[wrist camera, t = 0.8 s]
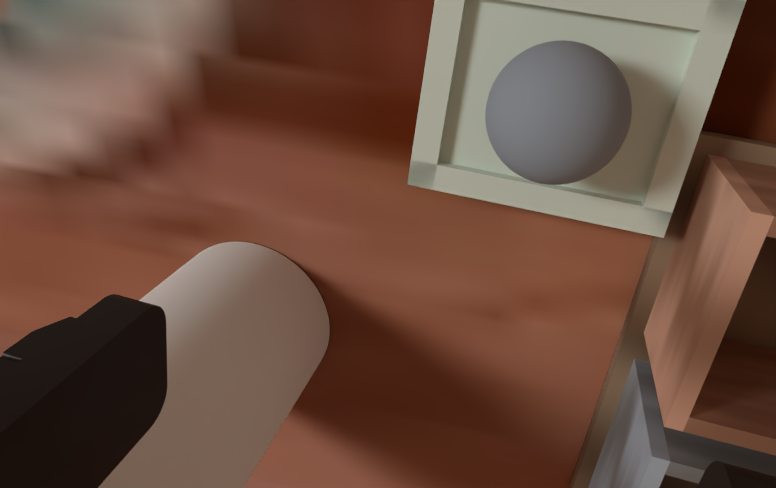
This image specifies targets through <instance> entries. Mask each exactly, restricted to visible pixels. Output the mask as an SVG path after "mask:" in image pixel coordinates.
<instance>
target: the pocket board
mask: <svg viewBox="0 0 776 488" xmlns="http://www.w3.org/2000/svg"><path fill="white" fill-rule="evenodd" d="M745 3H746V0H435V3H434V10H433V16H432V23H431V30H430V36H429V43H428V50H427V56H426V63H425V70H424V76H423V83H422V90H421V96H420V103H419V110H418V116H417V123H416V130H415V137H414V143H413V150H412V157H411V163H410V170H409V177H408V183H407V184H408V185H412V186H417V187H422V188H427V189H432V190H436V191H441V192H446V193H451V194H456V195H460V196H465V197H470V198H475V199H479V200H484V201H489V202H494V203H499V204H503V205H508V206H513V207H518V208H522V209H527V210H532V211H537V212H542V213H546V214H551V215H556V216H561V217H565V218H570V219H575V220H580V221H585V222H589V223H594V224H599V225H604V226H608V227H613V228H618V229H623V230H628V231H632V232H637V233H642V234H647V235H652V236H656V237H661V238H664V236H665V233H666V230H667V227H668V224H669V221H670V218H671V215H672V213H673V210H674V207H675V204H676V201H677V198H678V195H679V193H680V190H681V187H682V184H683V181H684V178H685V175H686V172H687V170H688V167H689V164H690V161H691V158H692V155H693V152H694V149H695V147H696V144H697V141H698V138H699V135H700V132H701V129H702V127H703V124H704V121H705V118H706V115H707V112H708V109H709V106H710V104H711V101H712V98H713V95H714V92H715V89H716V86H717V83H718V81H719V78H720V75H721V72H722V69H723V66H724V63H725V60H726V58H727V55H728V52H729V49H730V46H731V43H732V40H733V38H734V35H735V32H736V29H737V26H738V23H739V20H740V17H741V15H742V12H743V9H744V6H745ZM560 40H566V41H575V42H579V43H584V44H586V45H589V46H591V47H594V48H595V49H597V50H599V51H601V52H602V53H603V54H605V55H606V56H607V57H609V58H610V59H611V60H612V61H613V62H614V63H615V64H616V65H617V67H618V68H619V70H620V71H621V72H622V74H623V76H624V78H625V80H626V82H627V85H628V88H629V91H630V96H631V103H632V115H631V123H630V127H629V131H628V133H627V136H626V139H625V141H624V142H623V144H622V146H621V148H620V149H619V151H618V152H617V154H616V155H615V156H614V158H613V159H612V160H611V161H610V162H609V163H608V164H607V165H606V166H604V167H603V168H602V169H601V170H599V171H598V172H596V173H595V174H593V175H591V176H589V177H587V178H585V179H583V180H580V181H577V182H573V183H569V184H561V185H548V184H540V183H537V182H533V181H530V180H528V179H525V178H523V177H521V176H519V175H518V174H516V173H514V172H513V171H512V170H510V169H509V168H508V167H507V166H506V165H505V164H504V163H503V162H502V161H501V159H500V158H499V157H498V156H497V154H496V152H495V151H494V149H493V147H492V145H491V142H490V140H489V137H488V133H487V129H486V122H485V112H486V104H487V99H488V96H489V92H490V90H491V87H492V85H493V83H494V81H495V79H496V78H497V76H498V74H499V73H500V72H501V70H502V69H503V68H504V67H505V66H506V65H507V64H508V63H509V62H510V61H511V60H512V59H513V58H514V57H516V56H517V55H518V54H520V53H522V52H523V51H525V50H526V49H528V48H531V47H533V46H535V45H538V44H541V43H545V42H550V41H560Z"/></svg>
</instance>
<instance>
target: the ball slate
mask: <svg viewBox="0 0 776 488" xmlns="http://www.w3.org/2000/svg"><path fill="white" fill-rule="evenodd" d="M631 115H632V103H631V96H630V91H629V88H628V85H627V82H626V80H625V78H624V76H623V74H622V72H621V71H620V70H619V68H618V67H617V65H616V64H615V63H614V62H613V61H612V60H611V59H610V58H609V57H607V56H606V55H605V54H603V53H602V52H601V51H599V50H597V49H595V48H594V47H591V46H589V45H586V44H584V43H579V42H575V41H566V40H560V41H550V42H545V43H541V44H538V45H535V46H533V47H531V48H528V49H526V50H525V51H523V52H522V53H520V54H518V55H517V56H516V57H514V58H513V59H512V60H511V61H510V62H509V63H508V64H507V65H506V66H505V67H504V68H503V69H502V70H501V72H500V73H499V74H498V76H497V78H496V79H495V81H494V83H493V85H492V87H491V90H490V92H489V96H488V99H487V104H486V112H485V122H486V129H487V133H488V137H489V140H490V142H491V145H492V147H493V149H494V151H495V152H496V154H497V156H498V157H499V158H500V159H501V161H502V162H503V163H504V164H505V165H506V166H507V167H508V168H509V169H510V170H512V171H513V172H514V173H516V174H518V175H519V176H521V177H523V178H525V179H528V180H530V181H533V182H537V183H540V184H548V185H561V184H569V183H573V182H577V181H580V180H583V179H585V178H587V177H589V176H591V175H593V174H595V173H596V172H598V171H599V170H601V169H602V168H603V167H604V166H606V165H607V164H608V163H609V162H610V161H611V160H612V159H613V158H614V156H615V155H616V154H617V152H618V151H619V149H620V148H621V146H622V144H623V142H624V141H625V139H626V136H627V133H628V131H629V127H630V123H631Z"/></svg>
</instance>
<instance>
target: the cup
mask: <svg viewBox="0 0 776 488" xmlns="http://www.w3.org/2000/svg"><path fill="white" fill-rule="evenodd" d="M139 301H142V302H145V303H149V304H153V305H156V306H159V307H161V308H162V309H163V310H164V313H165V316H166V339H167V394H166V398H165V402H164V405H163V407H162V410H161V412H160V414H159V416H158V418H157V420H156V421H155V423H154V424H153V425H152V427H151V428H150V429H149V430H148V431H147V433H146V434H145V435H144V436H143V437H142V438H141V439H140V440H139V442H138V443H137V444H136V445H135V446H134V447H133V448H132V450H131V451H130V452H129V453H128V454H127V455H126V456H125V458H124V459H123V460H122V461H121V462H120V463H119V464H118V466H117V467H116V468H115V469H114V470H113V471H112V472H111V474H110V475H109V476H108V477H107V478H106V479H105V480H104V481H103V483H102V484H101V485H100V486H99V487H98V488H244V486H245V484H246V483H247V481H248V479H249V478H250V476H251V475H252V473H253V471H254V470H255V468H256V466H257V465H258V463H259V462H260V460H261V458H262V457H263V455H264V453H265V452H266V450H267V449H268V447H269V445H270V444H271V442H272V440H273V439H274V437H275V435H276V434H277V432H278V431H279V429H280V427H281V426H282V424H283V422H284V421H285V419H286V418H287V416H288V414H289V413H290V411H291V409H292V408H293V406H294V404H295V403H296V401H297V400H298V398H299V396H300V395H301V393H302V391H303V390H304V388H305V387H306V385H307V383H308V382H309V380H310V378H311V377H312V375H313V374H314V372H315V370H316V369H317V367H318V365H319V364H320V362H321V360H322V359H323V357H324V355H325V352H326V350H327V346H328V343H329V336H330V325H329V318H328V313H327V309H326V306H325V304H324V301H323V299H322V297H321V295H320V293H319V291H318V289H317V288H316V286H315V285H314V283H313V282H312V281H311V279H310V278H309V277H308V276H307V275H306V274H305V272H304V271H302V270H301V269H300V268H299V267H298V266H297V265H296V264H295V263H293V262H292V261H291V260H289V259H288V258H286V257H285V256H283V255H282V254H280V253H278V252H276V251H274V250H272V249H270V248H267V247H264V246H261V245H258V244H254V243H248V242H225V243H220V244H216V245H214V246H211V247H209V248H207V249H205V250H203V251H202V252H200V253H199V254H197V255H196V256H195V257H193V258H192V259H191V260H190V261H188V262H187V263H186V264H185V265H183V266H182V267H181V268H180V269H178V270H177V271H176V272H174V273H173V274H172V275H171V276H169V277H168V278H167V279H166V280H164V281H163V282H162V283H161V284H159V285H158V286H157V287H156V288H154V289H153V290H152V291H150V292H149V293H148V294H147V295H145V296H144V297H143V298H142V299H140V300H139Z"/></svg>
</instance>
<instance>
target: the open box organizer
mask: <svg viewBox="0 0 776 488" xmlns="http://www.w3.org/2000/svg"><path fill="white" fill-rule="evenodd" d="M714 461H720V462H724V463H728V464H731V465H735V466H738V467H742V468H746V469H749V470H753V471H757V472H760V473H764V474H768V475H771V476H775V477H776V143H770V142H765V141H759V140H753V139H748V138H742V137H737V136H731V135H726V134H720V133H714V132H709V131H703V130H701V132H700V135H699V138H698V141H697V144H696V147H695V149H694V152H693V155H692V158H691V161H690V164H689V167H688V170H687V172H686V175H685V178H684V181H683V184H682V187H681V190H680V193H679V195H678V198H677V201H676V204H675V207H674V210H673V213H672V215H671V218H670V221H669V224H668V227H667V230H666V233H665V236H664V238H661V237H656V236H654V238H653V241H652V244H651V247H650V250H649V253H648V256H647V259H646V262H645V265H644V268H643V271H642V273H641V276H640V279H639V282H638V285H637V288H636V291H635V294H634V297H633V300H632V303H631V306H630V309H629V312H628V315H627V317H626V320H625V323H624V326H623V329H622V332H621V335H620V338H619V341H618V344H617V347H616V350H615V353H614V356H613V359H612V362H611V364H610V367H609V370H608V373H607V376H606V379H605V382H604V385H603V388H602V391H601V394H600V397H599V400H598V403H597V406H596V408H595V411H594V414H593V417H592V420H591V423H590V426H589V429H588V432H587V435H586V438H585V441H584V444H583V447H582V450H581V452H580V455H579V458H578V461H577V464H576V467H575V470H574V473H573V476H572V479H571V482H570V485H569V488H697V486H698V484H699V482H700V480H701V478H702V476H703V474H704V472H705V470H706V469H707V467H708V466H709V465H710V464H711V463H712V462H714Z"/></svg>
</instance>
